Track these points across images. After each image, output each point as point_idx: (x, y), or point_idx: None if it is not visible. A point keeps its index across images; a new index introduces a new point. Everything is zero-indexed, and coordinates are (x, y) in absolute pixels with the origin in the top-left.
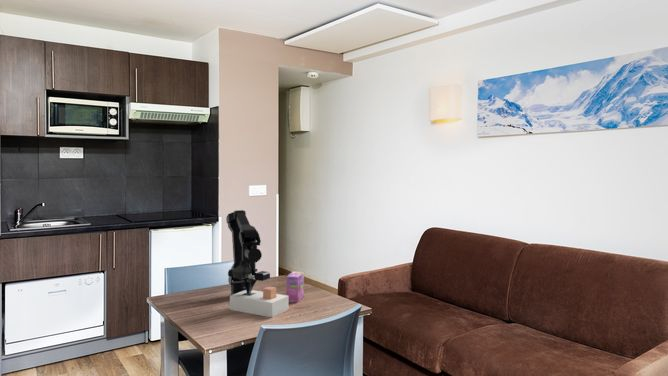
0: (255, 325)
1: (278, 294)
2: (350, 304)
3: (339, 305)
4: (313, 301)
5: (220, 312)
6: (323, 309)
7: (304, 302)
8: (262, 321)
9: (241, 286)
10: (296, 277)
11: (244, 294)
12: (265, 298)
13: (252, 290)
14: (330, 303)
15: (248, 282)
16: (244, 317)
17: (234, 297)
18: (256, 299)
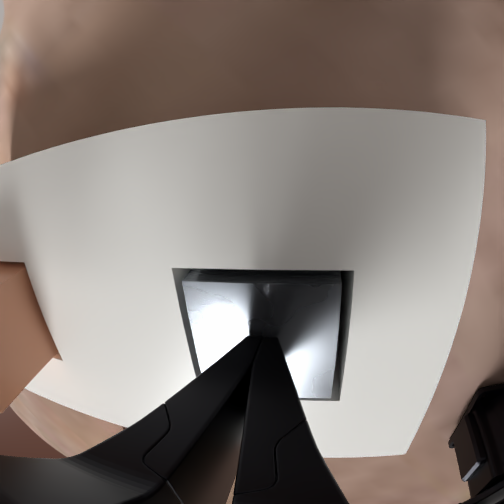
0: (9, 15)
1: (50, 395)
2: (22, 419)
3: (24, 409)
4: (98, 443)
5: (422, 14)
6: None
7: (107, 432)
8: (9, 78)
9: (491, 466)
10: None
11: (295, 289)
12: (6, 266)
13: (328, 451)
14: (50, 425)
15: (115, 480)
16: (127, 31)
17: (380, 110)
18: (16, 184)
